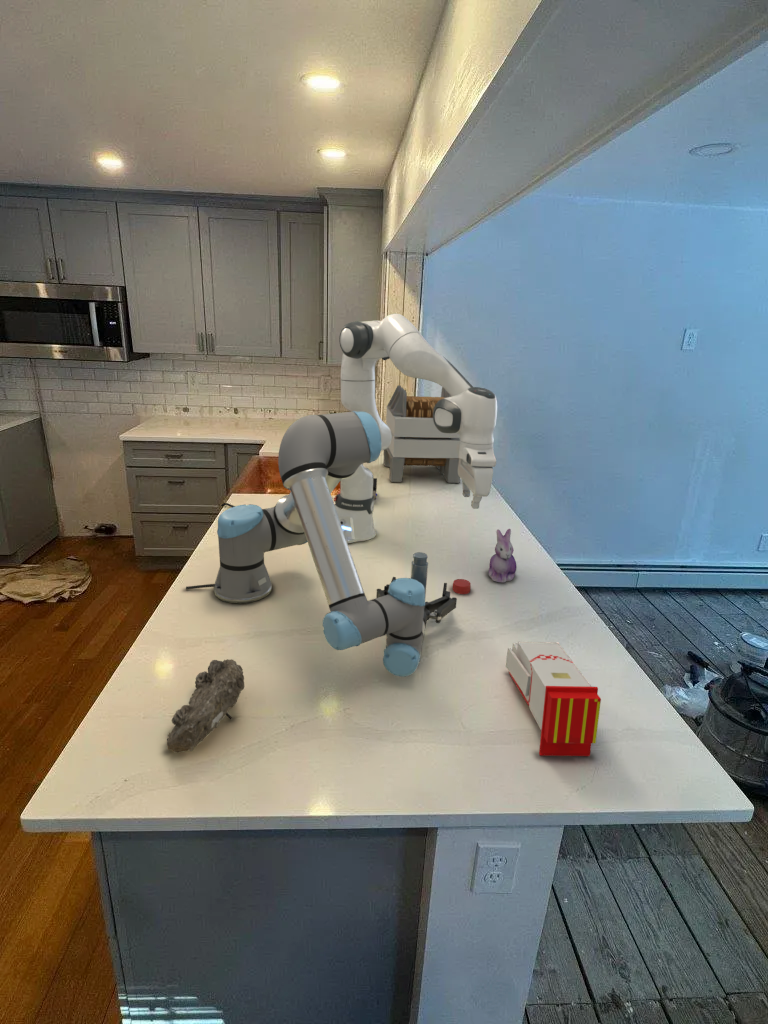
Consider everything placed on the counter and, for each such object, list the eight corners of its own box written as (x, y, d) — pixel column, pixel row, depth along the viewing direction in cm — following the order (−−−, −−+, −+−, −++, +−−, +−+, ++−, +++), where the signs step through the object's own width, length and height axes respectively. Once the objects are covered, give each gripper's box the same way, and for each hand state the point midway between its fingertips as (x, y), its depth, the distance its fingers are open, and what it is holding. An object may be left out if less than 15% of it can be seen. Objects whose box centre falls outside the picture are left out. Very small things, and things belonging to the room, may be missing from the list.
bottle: (414, 606, 152) (418, 550, 146) (427, 611, 149) (431, 554, 144) (405, 612, 149) (408, 555, 143) (418, 617, 146) (422, 559, 141)
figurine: (500, 586, 164) (506, 538, 159) (479, 572, 173) (484, 526, 168) (525, 580, 169) (532, 534, 164) (503, 567, 177) (509, 522, 172)
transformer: (382, 463, 289) (386, 382, 275) (445, 464, 293) (451, 384, 279) (390, 482, 257) (394, 392, 243) (460, 483, 261) (468, 394, 247)
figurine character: (377, 508, 228) (376, 492, 242) (377, 490, 225) (377, 476, 238) (360, 507, 228) (361, 492, 242) (360, 490, 225) (361, 475, 238)
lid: (452, 593, 159) (453, 586, 159) (452, 585, 164) (452, 578, 163) (470, 595, 159) (471, 587, 158) (469, 587, 164) (470, 579, 163)
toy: (554, 624, 127) (610, 694, 97) (548, 679, 130) (602, 763, 100) (500, 623, 126) (541, 693, 97) (496, 678, 129) (534, 763, 100)
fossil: (192, 660, 117) (244, 628, 112) (224, 691, 120) (276, 661, 115) (142, 746, 98) (202, 712, 93) (182, 779, 101) (242, 748, 96)
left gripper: (355, 633, 133) (372, 591, 153) (462, 647, 130) (465, 602, 149) (356, 604, 131) (373, 566, 150) (465, 618, 127) (468, 577, 147)
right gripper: (454, 442, 157) (450, 489, 162) (473, 461, 138) (468, 514, 143) (476, 442, 158) (471, 490, 163) (498, 462, 139) (492, 515, 143)
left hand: (419, 584), depth 150 cm, fingers open, 13 cm apart
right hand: (470, 501), depth 152 cm, fingers open, 8 cm apart
